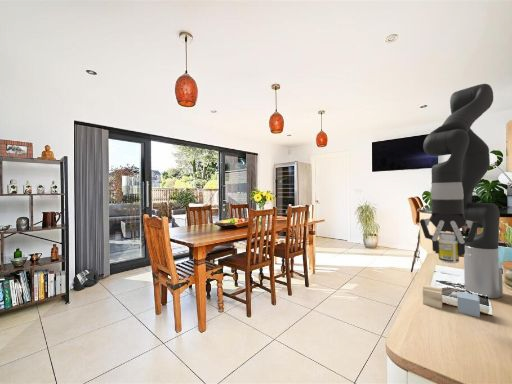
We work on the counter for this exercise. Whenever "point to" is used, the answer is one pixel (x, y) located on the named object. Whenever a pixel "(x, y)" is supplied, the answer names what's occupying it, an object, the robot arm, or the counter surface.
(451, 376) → the counter surface
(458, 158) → the robot arm
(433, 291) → the beech cube
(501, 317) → the counter surface
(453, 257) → the supplement bottle
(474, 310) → the slate cube
